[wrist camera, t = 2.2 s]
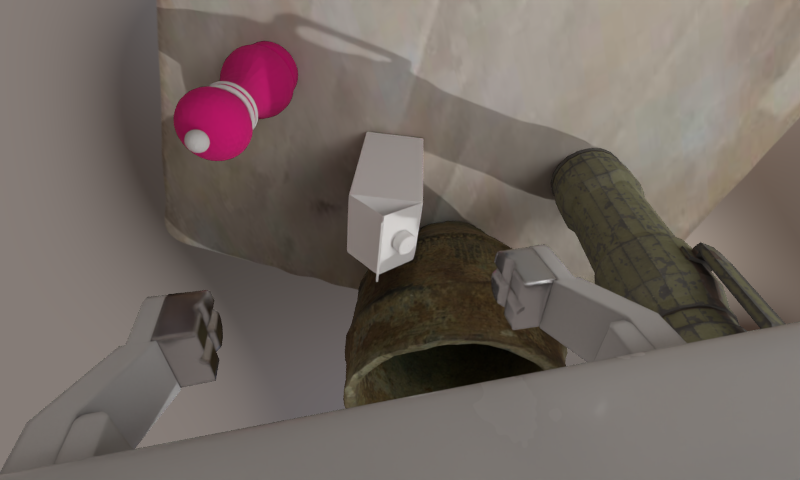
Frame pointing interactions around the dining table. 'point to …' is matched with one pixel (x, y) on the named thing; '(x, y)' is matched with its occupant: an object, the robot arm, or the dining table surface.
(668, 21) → the dining table surface
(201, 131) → the pepper mill
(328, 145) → the dining table surface
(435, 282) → the clay pot
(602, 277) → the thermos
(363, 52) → the dining table surface
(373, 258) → the milk carton
